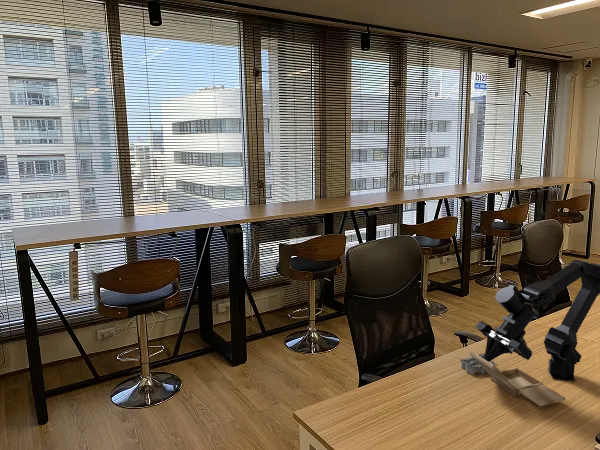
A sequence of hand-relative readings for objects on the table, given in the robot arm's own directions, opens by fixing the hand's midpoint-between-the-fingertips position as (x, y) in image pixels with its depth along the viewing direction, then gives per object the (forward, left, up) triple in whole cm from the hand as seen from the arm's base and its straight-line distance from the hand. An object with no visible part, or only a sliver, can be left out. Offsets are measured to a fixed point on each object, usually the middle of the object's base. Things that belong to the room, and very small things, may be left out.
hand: (485, 361), depth 144 cm
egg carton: (0, -16, -10) cm, 19 cm away
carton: (-12, -3, -10) cm, 16 cm away
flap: (-6, -4, -7) cm, 10 cm away
